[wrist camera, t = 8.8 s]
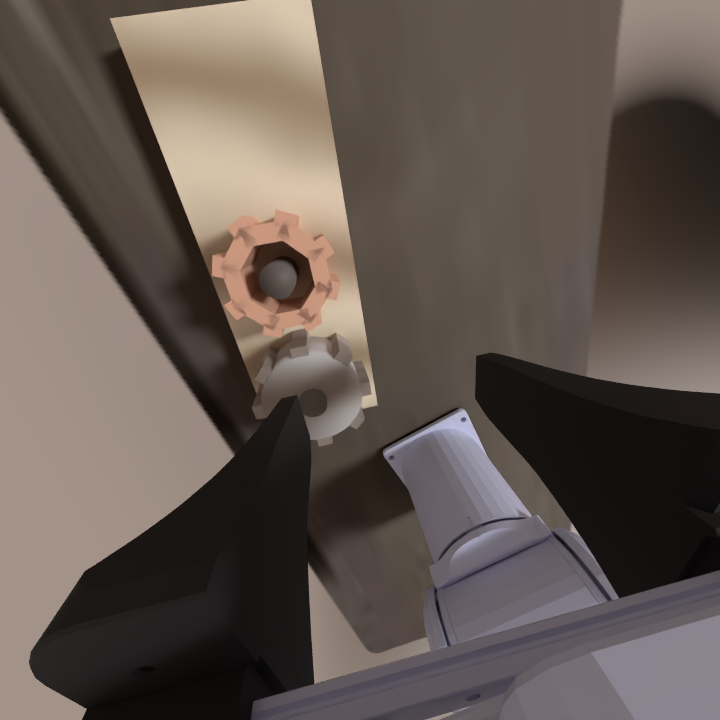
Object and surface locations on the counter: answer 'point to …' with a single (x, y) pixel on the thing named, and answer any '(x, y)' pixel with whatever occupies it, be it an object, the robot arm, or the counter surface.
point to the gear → (245, 283)
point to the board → (259, 182)
